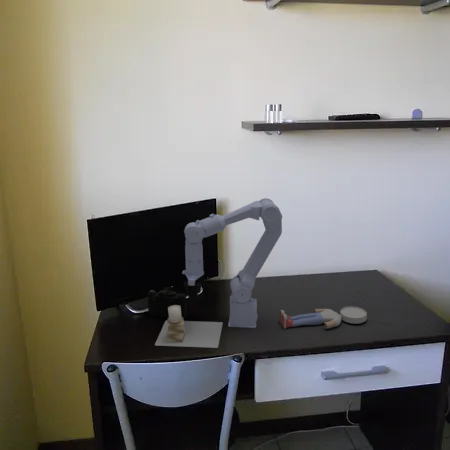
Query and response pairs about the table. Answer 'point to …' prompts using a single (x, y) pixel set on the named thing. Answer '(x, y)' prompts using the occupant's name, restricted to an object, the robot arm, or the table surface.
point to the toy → (325, 317)
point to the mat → (194, 335)
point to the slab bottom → (176, 337)
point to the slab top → (175, 327)
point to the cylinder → (174, 314)
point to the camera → (165, 302)
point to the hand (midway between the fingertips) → (195, 297)
